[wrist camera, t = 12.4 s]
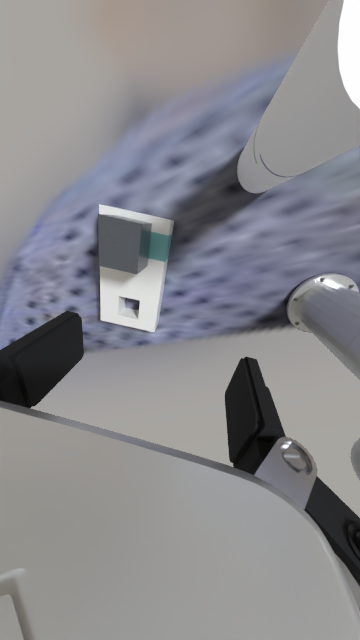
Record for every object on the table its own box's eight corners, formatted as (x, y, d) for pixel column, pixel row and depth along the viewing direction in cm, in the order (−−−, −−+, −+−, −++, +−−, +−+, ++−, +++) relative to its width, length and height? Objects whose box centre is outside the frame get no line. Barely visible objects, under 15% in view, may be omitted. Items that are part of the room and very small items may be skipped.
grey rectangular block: (157, 223, 34) (141, 223, 25) (153, 261, 38) (137, 274, 28) (126, 216, 34) (98, 213, 25) (124, 255, 38) (98, 265, 28)
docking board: (109, 206, 34) (99, 204, 30) (174, 220, 34) (171, 220, 30) (108, 312, 44) (100, 320, 41) (157, 323, 44) (154, 332, 41)
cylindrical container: (253, 204, 31) (374, 161, 9) (227, 165, 29) (306, -8, 7) (294, 166, 29) (602, -18, 7) (269, 121, 27) (595, -367, 5)
